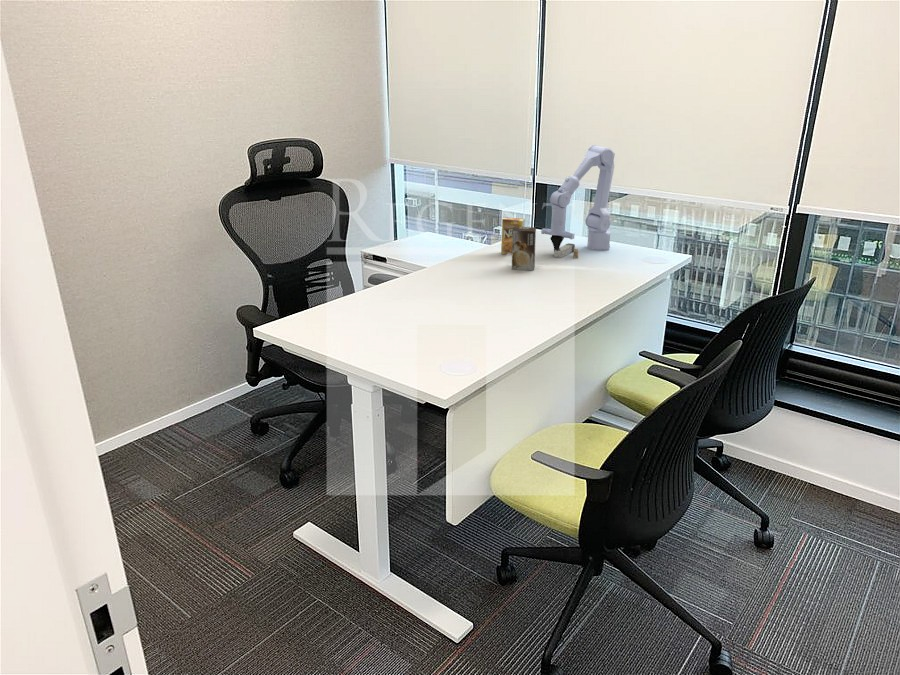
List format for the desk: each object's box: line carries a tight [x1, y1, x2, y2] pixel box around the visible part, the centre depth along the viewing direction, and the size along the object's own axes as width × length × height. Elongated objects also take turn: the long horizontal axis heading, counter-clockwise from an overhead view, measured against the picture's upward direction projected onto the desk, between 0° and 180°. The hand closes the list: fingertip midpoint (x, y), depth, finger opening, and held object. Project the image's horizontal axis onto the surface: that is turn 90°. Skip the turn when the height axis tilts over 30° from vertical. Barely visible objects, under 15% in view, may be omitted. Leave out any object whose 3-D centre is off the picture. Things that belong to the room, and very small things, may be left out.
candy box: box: [500, 216, 526, 255], centre depth 300 cm, size 9×4×15 cm, turn 70°
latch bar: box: [553, 242, 576, 259], centre depth 298 cm, size 13×4×3 cm, turn 144°
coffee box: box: [511, 226, 537, 271], centre depth 282 cm, size 9×6×16 cm
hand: (556, 252), depth 297 cm, fingers closed
